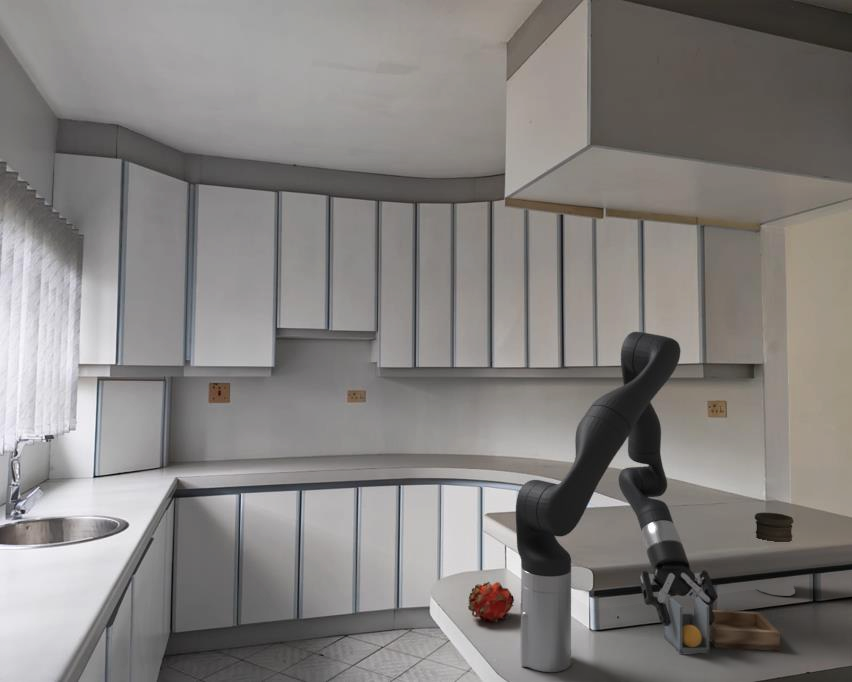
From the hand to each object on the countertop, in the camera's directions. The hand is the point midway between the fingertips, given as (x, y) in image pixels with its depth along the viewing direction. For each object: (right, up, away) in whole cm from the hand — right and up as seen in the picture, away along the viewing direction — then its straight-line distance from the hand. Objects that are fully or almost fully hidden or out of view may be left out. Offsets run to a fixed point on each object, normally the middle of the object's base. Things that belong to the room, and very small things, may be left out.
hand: (689, 624), depth 127 cm
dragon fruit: (-37, -5, +14) cm, 40 cm away
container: (+34, -6, +32) cm, 46 cm away
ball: (0, -2, -1) cm, 2 cm away
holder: (0, -5, +1) cm, 5 cm away
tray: (+12, -5, +5) cm, 14 cm away
